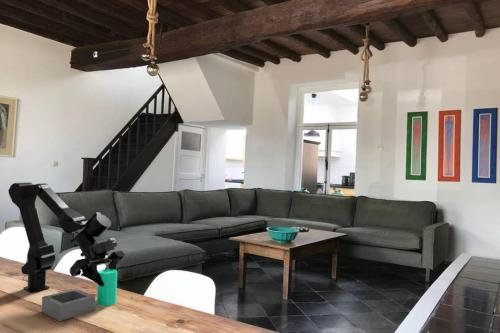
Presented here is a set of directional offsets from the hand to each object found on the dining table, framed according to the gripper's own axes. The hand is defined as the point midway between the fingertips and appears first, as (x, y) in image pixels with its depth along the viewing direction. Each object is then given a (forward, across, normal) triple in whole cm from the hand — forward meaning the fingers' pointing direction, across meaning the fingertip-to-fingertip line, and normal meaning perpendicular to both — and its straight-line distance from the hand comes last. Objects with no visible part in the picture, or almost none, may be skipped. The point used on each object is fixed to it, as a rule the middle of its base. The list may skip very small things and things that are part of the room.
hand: (110, 283), depth 127 cm
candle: (+4, 0, +6) cm, 7 cm away
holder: (+1, -12, +8) cm, 14 cm away
